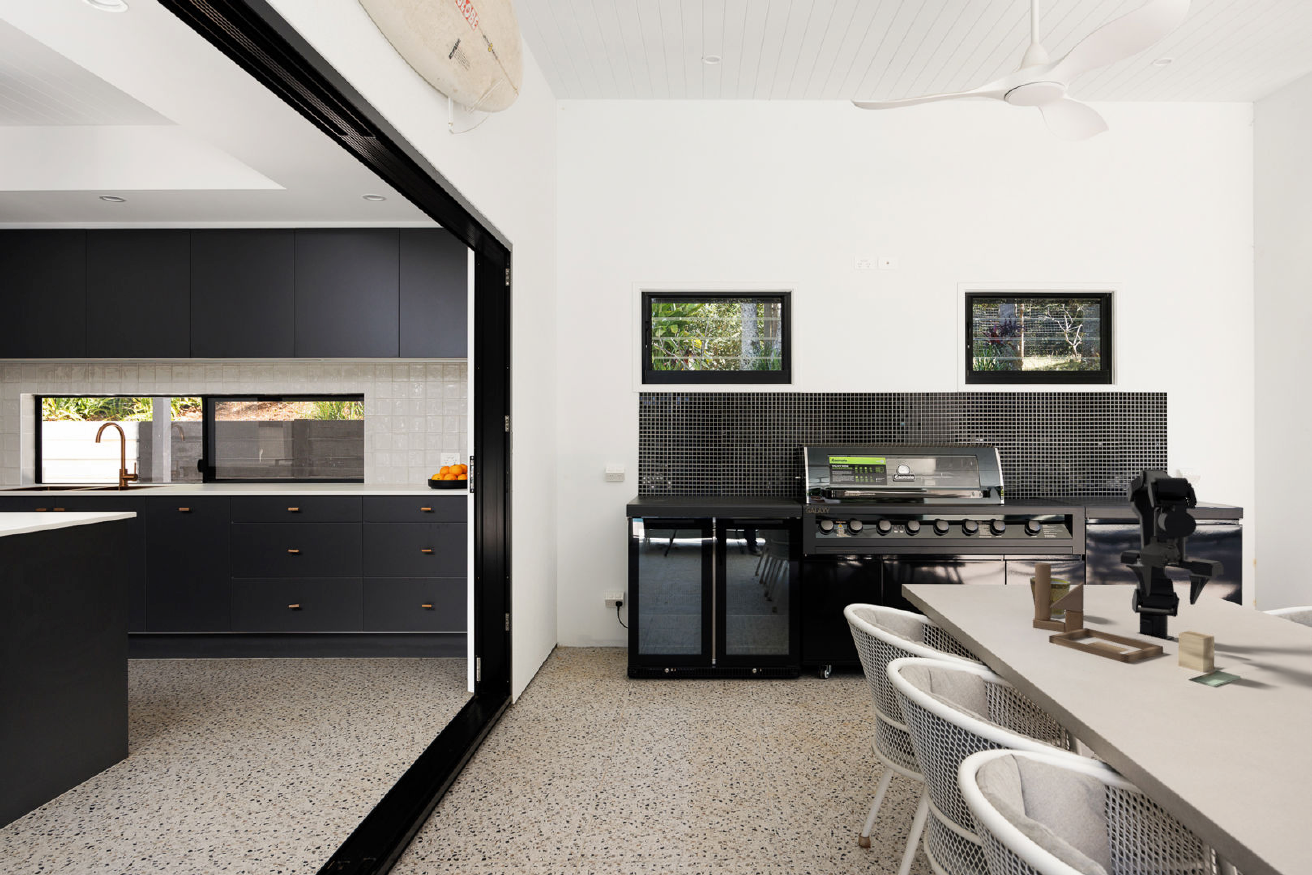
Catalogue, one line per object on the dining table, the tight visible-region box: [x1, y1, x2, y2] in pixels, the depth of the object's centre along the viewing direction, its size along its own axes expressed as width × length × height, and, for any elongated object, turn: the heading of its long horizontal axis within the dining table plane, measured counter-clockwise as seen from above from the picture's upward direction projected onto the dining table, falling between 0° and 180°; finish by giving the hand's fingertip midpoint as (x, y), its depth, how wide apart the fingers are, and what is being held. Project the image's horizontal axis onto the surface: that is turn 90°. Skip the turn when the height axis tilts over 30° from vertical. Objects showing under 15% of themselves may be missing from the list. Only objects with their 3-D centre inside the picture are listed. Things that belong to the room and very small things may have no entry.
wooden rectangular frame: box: [1048, 627, 1164, 664], centre depth 160 cm, size 15×17×3 cm
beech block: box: [1178, 630, 1215, 677], centre depth 146 cm, size 4×4×8 cm
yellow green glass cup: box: [1029, 576, 1071, 619], centre depth 197 cm, size 13×10×10 cm
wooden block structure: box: [1032, 561, 1085, 633], centre depth 175 cm, size 4×11×18 cm, turn 52°
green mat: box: [1187, 670, 1241, 688], centre depth 146 cm, size 11×11×1 cm
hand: (1169, 600), depth 158 cm, fingers open, 9 cm apart
